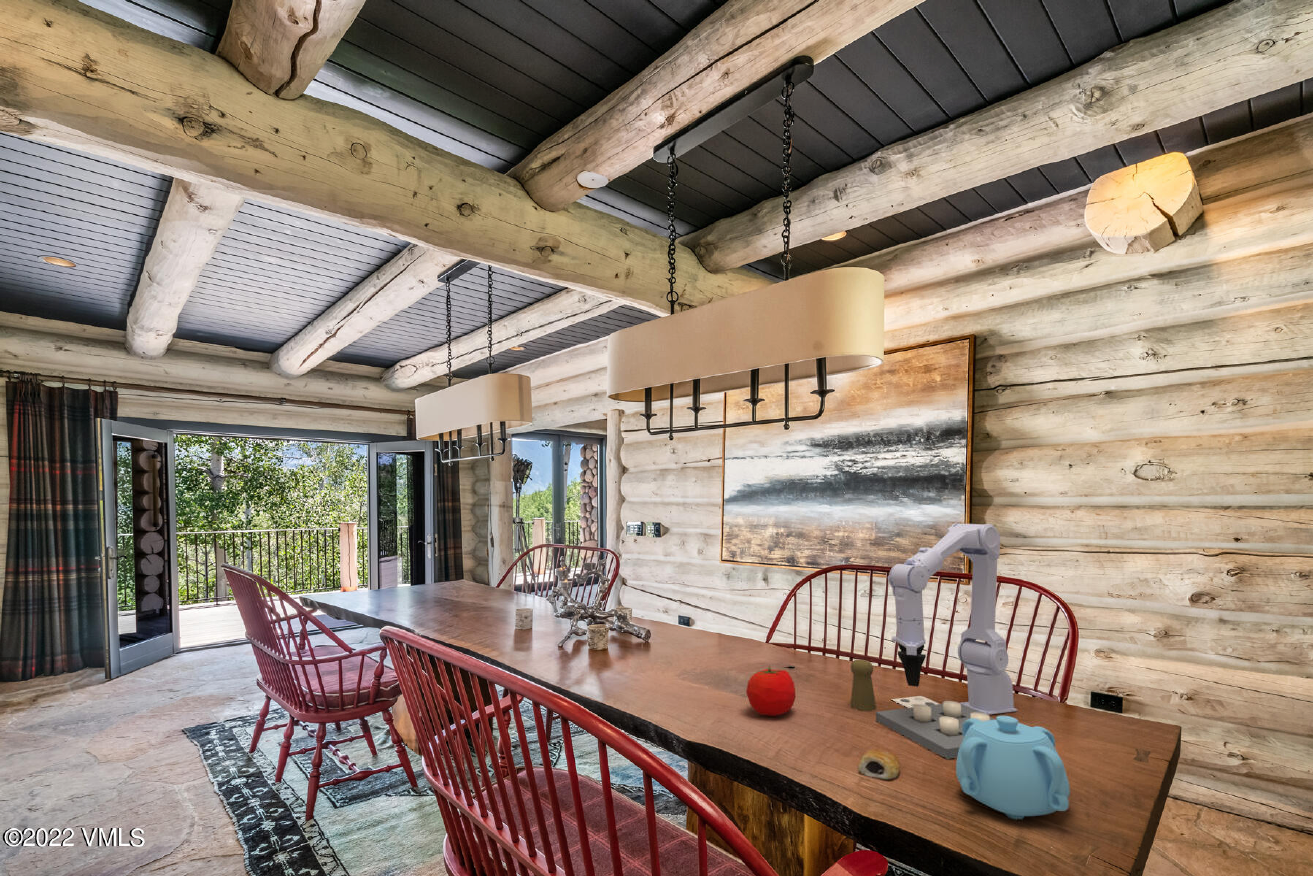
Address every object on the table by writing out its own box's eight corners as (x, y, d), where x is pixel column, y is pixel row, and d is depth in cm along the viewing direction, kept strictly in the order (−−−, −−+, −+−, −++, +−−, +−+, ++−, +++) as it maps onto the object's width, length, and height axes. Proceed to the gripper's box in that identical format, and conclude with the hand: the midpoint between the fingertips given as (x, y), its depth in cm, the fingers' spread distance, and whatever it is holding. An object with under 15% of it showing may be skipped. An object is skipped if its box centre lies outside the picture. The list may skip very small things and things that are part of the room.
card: (921, 697, 156) (921, 695, 156) (944, 707, 148) (944, 705, 148) (891, 700, 153) (891, 698, 153) (913, 711, 146) (913, 709, 146)
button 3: (923, 717, 137) (923, 703, 137) (935, 722, 134) (934, 709, 134) (910, 719, 136) (909, 705, 136) (921, 724, 133) (920, 710, 133)
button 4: (950, 729, 129) (949, 715, 130) (963, 736, 126) (962, 721, 126) (936, 731, 128) (935, 717, 129) (948, 738, 125) (948, 723, 125)
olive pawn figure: (878, 712, 145) (876, 664, 146) (851, 710, 146) (850, 663, 148) (874, 703, 151) (872, 657, 152) (849, 702, 152) (847, 656, 153)
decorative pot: (964, 773, 113) (960, 696, 114) (1069, 795, 104) (1063, 711, 105) (952, 811, 99) (946, 723, 101) (1071, 839, 90) (1063, 743, 92)
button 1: (953, 713, 139) (952, 700, 140) (965, 718, 136) (964, 705, 136) (940, 715, 138) (939, 701, 139) (952, 720, 135) (951, 706, 135)
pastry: (870, 757, 120) (870, 737, 121) (907, 766, 117) (906, 745, 117) (856, 775, 113) (855, 753, 113) (894, 785, 109) (894, 762, 109)
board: (955, 710, 146) (954, 702, 146) (1036, 746, 125) (1035, 735, 125) (876, 721, 139) (875, 711, 140) (947, 759, 118) (946, 749, 119)
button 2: (980, 725, 132) (980, 711, 132) (994, 731, 128) (993, 717, 129) (967, 727, 131) (966, 713, 131) (980, 733, 127) (979, 719, 127)
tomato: (808, 715, 144) (807, 670, 145) (767, 725, 137) (766, 678, 138) (776, 702, 153) (774, 659, 154) (736, 711, 147) (735, 667, 148)
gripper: (891, 611, 146) (894, 670, 145) (890, 623, 133) (893, 688, 131) (923, 613, 144) (926, 673, 142) (925, 625, 130) (929, 691, 129)
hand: (912, 680), depth 137 cm, fingers open, 7 cm apart
